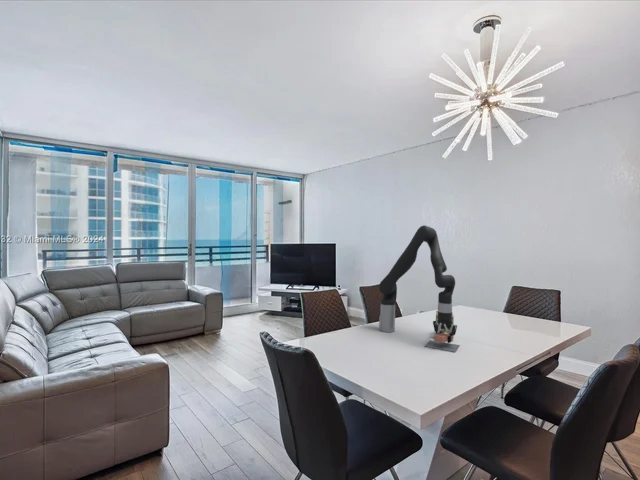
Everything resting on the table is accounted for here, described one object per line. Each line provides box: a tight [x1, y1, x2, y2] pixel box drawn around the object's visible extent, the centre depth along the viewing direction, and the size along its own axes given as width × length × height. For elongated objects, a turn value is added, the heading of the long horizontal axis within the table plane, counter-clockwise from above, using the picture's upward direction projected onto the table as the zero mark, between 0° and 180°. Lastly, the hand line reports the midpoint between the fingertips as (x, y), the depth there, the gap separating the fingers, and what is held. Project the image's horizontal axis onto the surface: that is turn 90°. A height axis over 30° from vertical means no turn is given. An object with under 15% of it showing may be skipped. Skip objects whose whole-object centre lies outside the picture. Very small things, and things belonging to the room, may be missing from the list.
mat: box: [423, 339, 460, 353], centre depth 188 cm, size 16×13×1 cm
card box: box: [433, 332, 455, 343], centre depth 188 cm, size 3×5×11 cm
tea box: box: [435, 310, 455, 342], centre depth 206 cm, size 15×10×15 cm, turn 161°
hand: (444, 341), depth 188 cm, fingers closed on card box, 5 cm apart
